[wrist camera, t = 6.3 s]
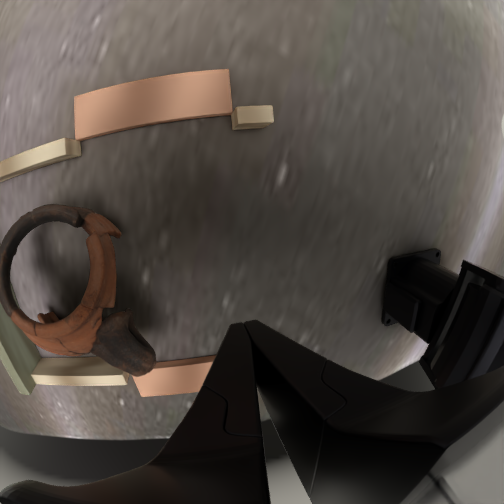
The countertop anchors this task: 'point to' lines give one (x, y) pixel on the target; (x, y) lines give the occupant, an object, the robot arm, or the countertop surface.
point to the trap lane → (86, 126)
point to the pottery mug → (92, 304)
